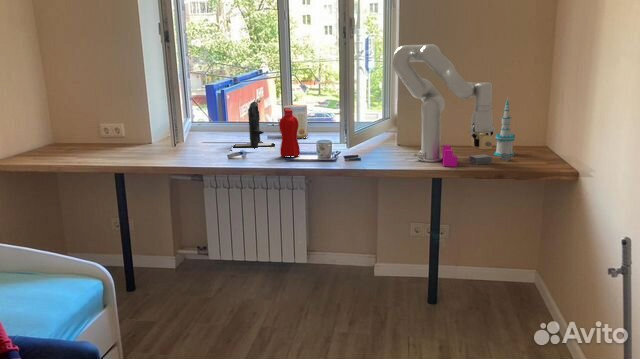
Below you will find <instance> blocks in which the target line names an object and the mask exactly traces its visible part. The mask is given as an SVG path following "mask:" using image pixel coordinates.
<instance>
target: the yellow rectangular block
mask: <svg viewBox="0 0 640 359" xmlns="http://www.w3.org/2000/svg"><path fill="white" fill-rule="evenodd" d="M470 136H471V135H470ZM470 139H471V141H470V147H473V148H475V149H476V148H477V149H480V150H489V149H492V148H493V135H492V136H490V135H486V134H485V133H480V134H479V138H478V139H479V147H475V146H474V138H473V137H472V136H471V138H470Z"/></svg>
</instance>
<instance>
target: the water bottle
mask: <svg viewBox="0 0 640 359" xmlns="http://www.w3.org/2000/svg"><path fill="white" fill-rule="evenodd" d="M298 126H299V123H298V120H297V118H296V117H295V116H293V111H292V110H286V111H284V110H283V116H282V117H281V118H280V119H279V131H280V134H281V138H282V139H281V143H280V149H279V150H280V156H281V157H282V158H286V157H285V156H290V157H291V156H297V157H299V156H300V155H299V154H300V153H301V149H300V144H299V141H298V140H299V139H297V132H298ZM298 155H299V156H298Z"/></svg>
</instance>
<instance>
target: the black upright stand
mask: <svg viewBox="0 0 640 359" xmlns="http://www.w3.org/2000/svg"><path fill="white" fill-rule="evenodd" d="M260 102H261V99H260V98H257V99H256V100H253V101H252V102H251V103H250V105H249V107H248V109H247V113H248V114H247V115H248V128H249V129H248V130H249V141H250V143H247V144H235V143H234V144H235V145H234V144H233V145H234V147H233V146H232V147H233V148H254V149H255V148H258V147H270V148H269V149H270V150H268V149H267V150H268V151H274V152H275V149H276V146H275V144H274V143H263V142H262V141H263V140H261V135H262V134H264V133H265V132H264V131H261V130H260V120H261V119H260V110H259V104H258V103H260ZM272 147H273V148H272ZM274 148H275V149H274ZM272 149H273V150H272ZM262 150H263V149H262ZM263 151H264V150H263ZM265 151H266V150H265Z"/></svg>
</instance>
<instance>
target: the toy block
mask: <svg viewBox="0 0 640 359" xmlns="http://www.w3.org/2000/svg"><path fill="white" fill-rule="evenodd" d="M441 156H442V158H443V159H442V161H441V162H442V165H443V167H452V168H454V167H455V168H458V161H459V160H458V155H455V154H454V151H453V149H452V145H448V144H447V145H445V144H444V145H443V146H442V155H441Z"/></svg>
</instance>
